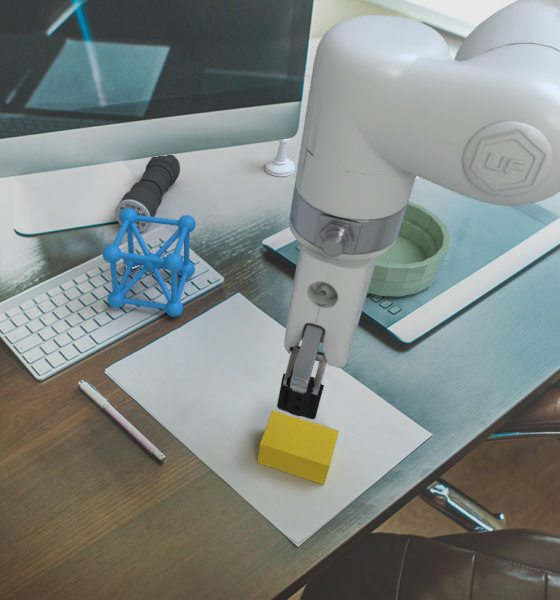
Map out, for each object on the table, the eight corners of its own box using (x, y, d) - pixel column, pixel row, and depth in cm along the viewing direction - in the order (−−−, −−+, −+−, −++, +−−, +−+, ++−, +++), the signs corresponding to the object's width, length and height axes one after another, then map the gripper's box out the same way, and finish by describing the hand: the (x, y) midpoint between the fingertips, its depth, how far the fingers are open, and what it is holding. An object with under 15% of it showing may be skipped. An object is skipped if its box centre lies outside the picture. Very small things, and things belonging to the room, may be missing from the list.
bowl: (443, 240, 93) (454, 209, 89) (431, 312, 83) (443, 280, 79) (334, 217, 98) (340, 186, 94) (310, 282, 87) (316, 250, 84)
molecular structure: (181, 322, 82) (181, 262, 76) (105, 310, 84) (99, 251, 77) (196, 271, 89) (197, 212, 83) (126, 261, 91) (122, 203, 84)
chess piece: (279, 157, 110) (285, 102, 103) (301, 169, 107) (309, 113, 100) (258, 167, 108) (263, 112, 101) (280, 180, 105) (287, 124, 98)
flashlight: (151, 174, 107) (150, 145, 104) (182, 180, 106) (183, 150, 102) (116, 228, 97) (113, 198, 93) (150, 235, 95) (149, 205, 92)
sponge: (333, 449, 68) (339, 430, 66) (324, 485, 65) (329, 466, 63) (269, 429, 70) (272, 409, 68) (257, 462, 68) (259, 443, 65)
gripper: (382, 305, 38) (332, 463, 50) (417, 157, 50) (369, 315, 61) (259, 274, 40) (238, 433, 52) (319, 139, 52) (291, 295, 64)
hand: (309, 369), depth 57 cm, fingers open, 9 cm apart
